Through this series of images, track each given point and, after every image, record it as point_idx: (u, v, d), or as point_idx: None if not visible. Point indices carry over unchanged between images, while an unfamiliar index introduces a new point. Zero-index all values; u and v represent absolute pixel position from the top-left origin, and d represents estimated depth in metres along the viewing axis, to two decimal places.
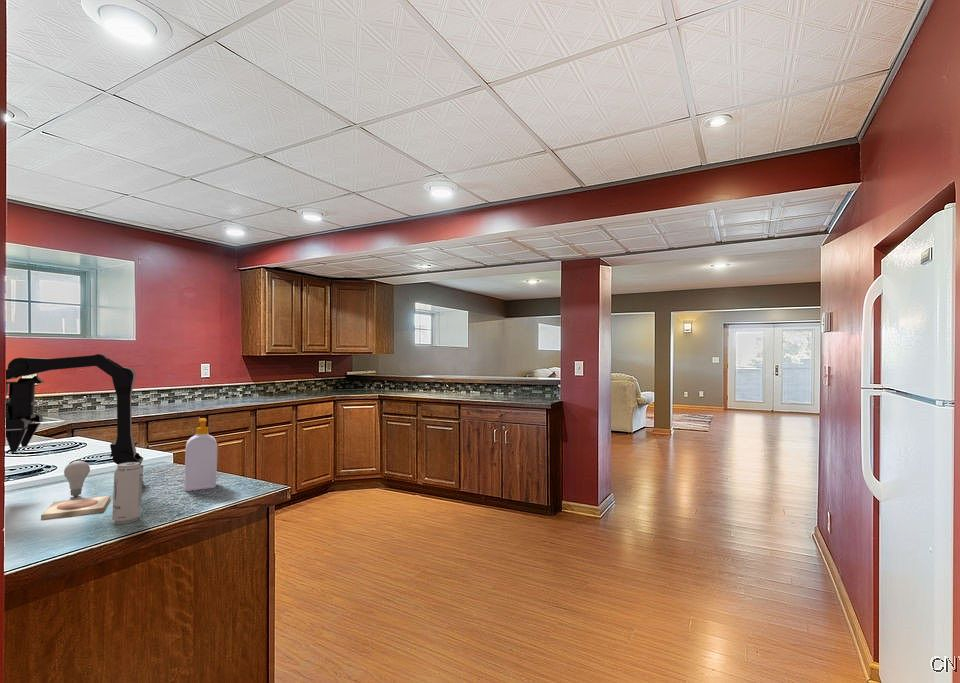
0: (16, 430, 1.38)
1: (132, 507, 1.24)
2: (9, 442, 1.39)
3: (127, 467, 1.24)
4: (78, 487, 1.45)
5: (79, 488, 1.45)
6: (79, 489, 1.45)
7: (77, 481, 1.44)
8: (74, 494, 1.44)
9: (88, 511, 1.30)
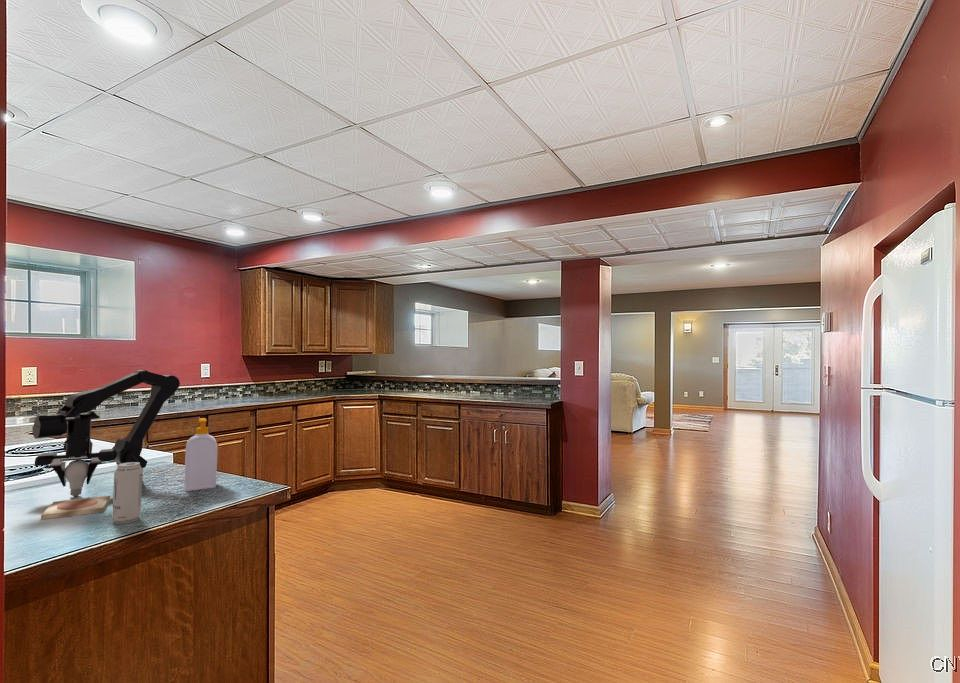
0: (50, 465, 1.42)
1: (132, 507, 1.24)
2: None
3: (127, 467, 1.24)
4: (78, 487, 1.45)
5: (79, 488, 1.45)
6: (79, 489, 1.45)
7: (77, 481, 1.44)
8: (74, 494, 1.44)
9: (88, 511, 1.30)
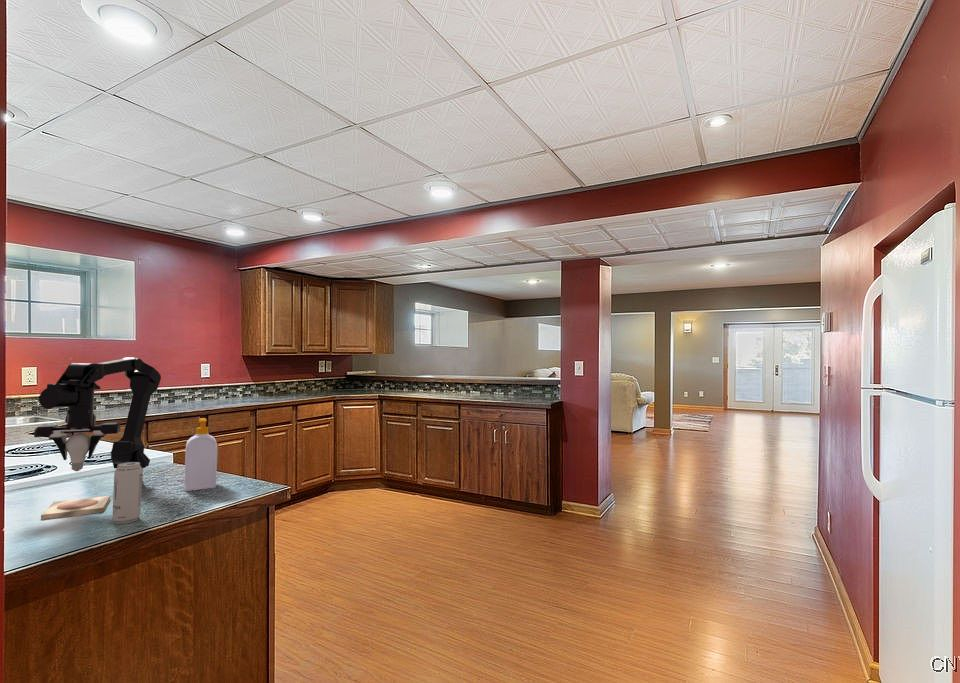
0: None
1: (132, 507, 1.24)
2: None
3: (127, 467, 1.24)
4: (79, 461, 1.37)
5: (80, 462, 1.37)
6: (80, 463, 1.38)
7: (78, 454, 1.37)
8: (75, 468, 1.37)
9: (88, 511, 1.30)
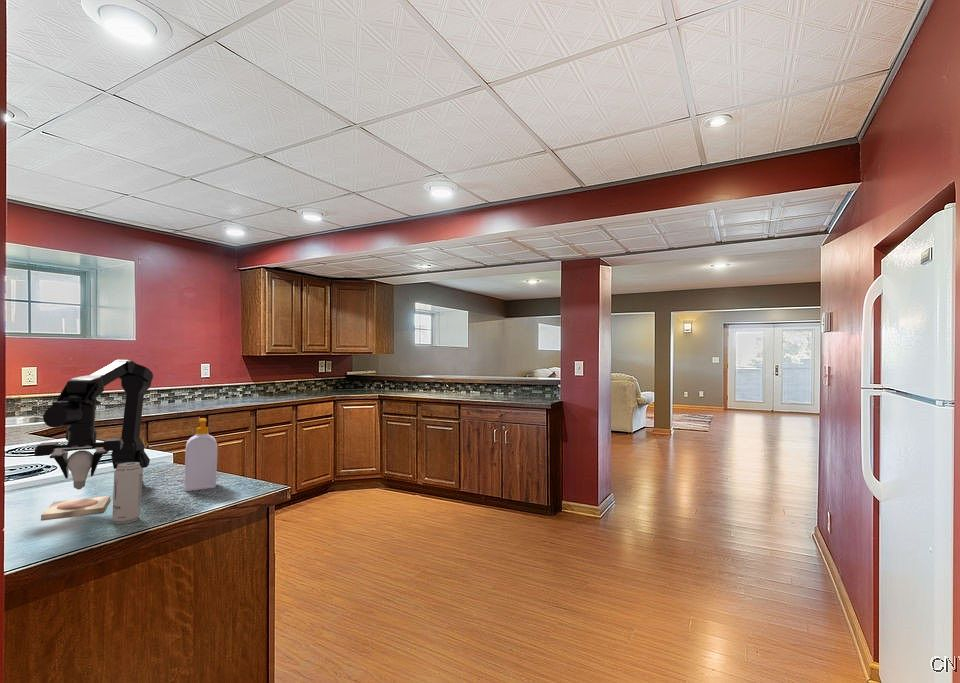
0: (51, 455, 1.30)
1: (132, 507, 1.24)
2: None
3: (127, 467, 1.24)
4: (82, 479, 1.34)
5: (83, 480, 1.34)
6: (83, 481, 1.34)
7: (81, 472, 1.33)
8: (77, 486, 1.33)
9: (88, 511, 1.30)
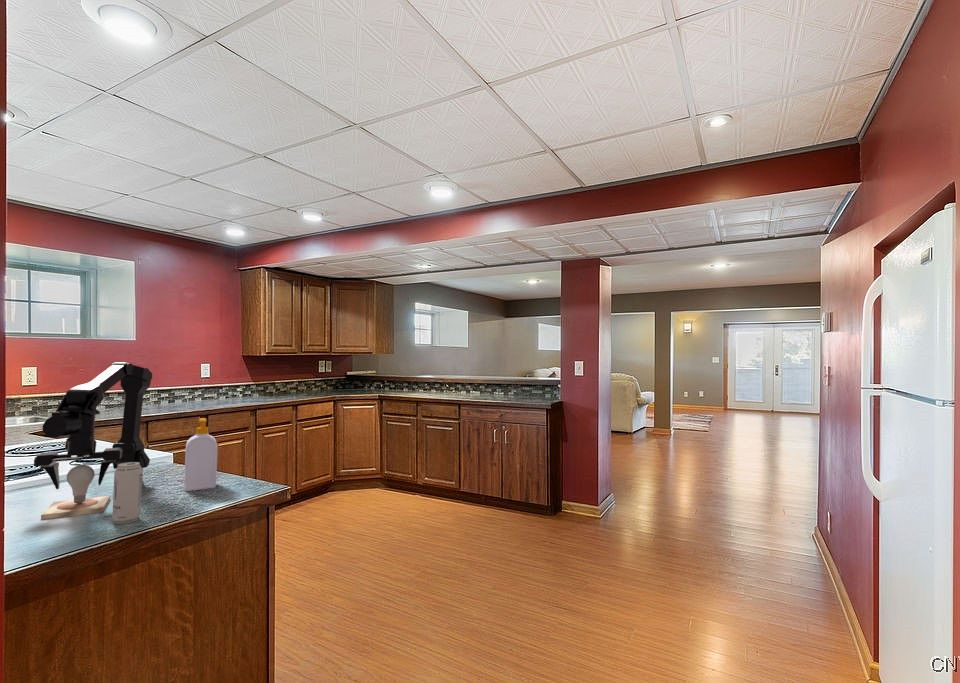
0: None
1: (132, 507, 1.24)
2: None
3: (127, 467, 1.24)
4: (82, 493, 1.34)
5: (83, 495, 1.34)
6: (83, 496, 1.34)
7: (81, 487, 1.33)
8: (78, 501, 1.33)
9: (88, 511, 1.30)
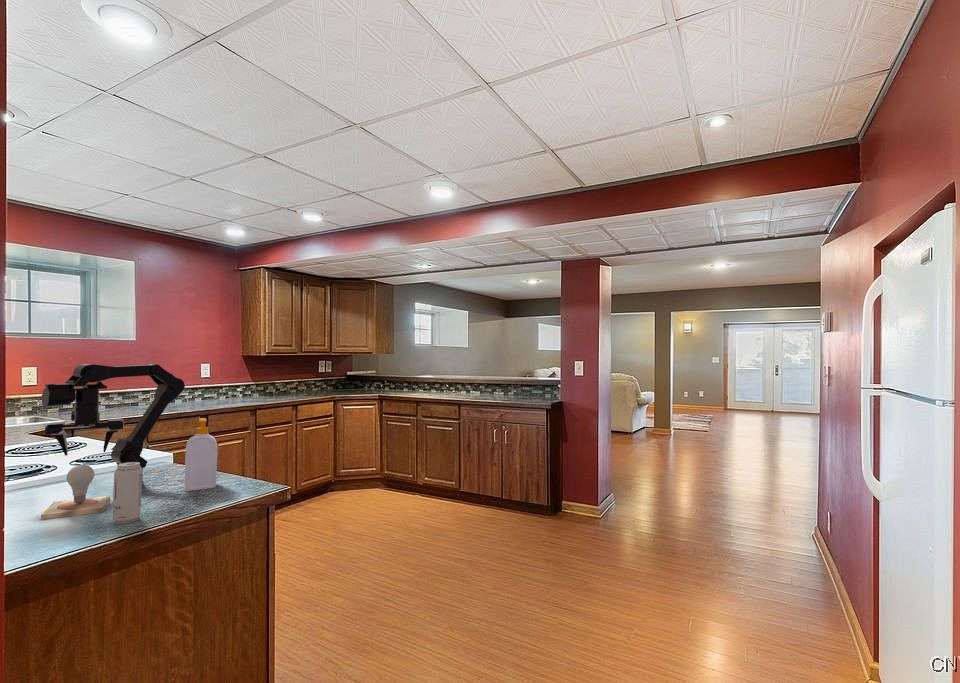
0: None
1: (132, 507, 1.24)
2: None
3: (127, 467, 1.24)
4: (82, 493, 1.34)
5: (83, 495, 1.34)
6: (83, 496, 1.34)
7: (81, 487, 1.33)
8: (78, 501, 1.33)
9: (88, 511, 1.30)
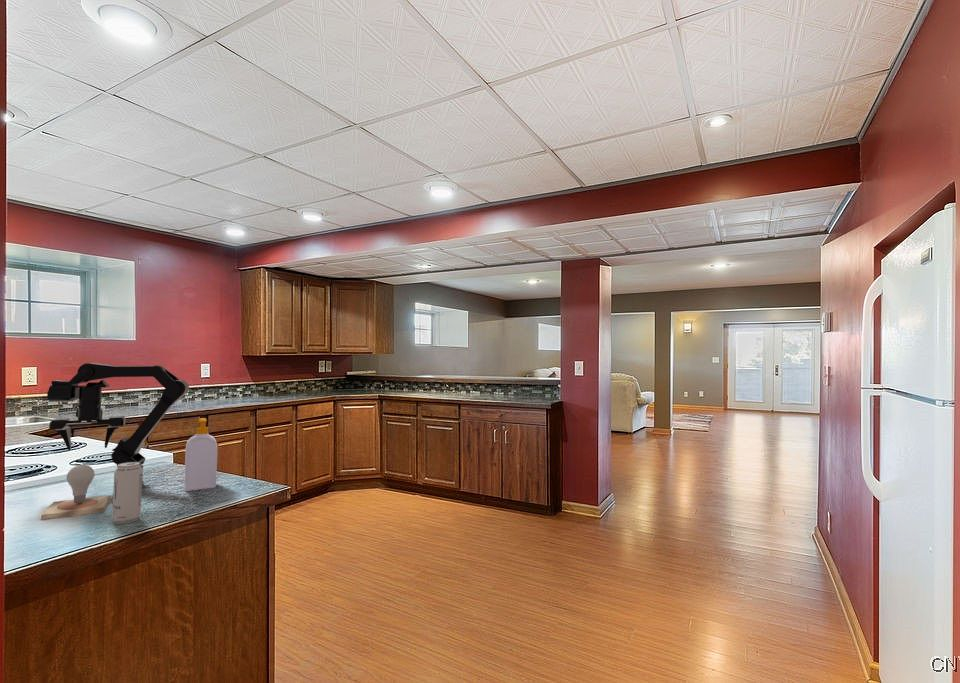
0: (55, 430, 1.49)
1: (132, 507, 1.24)
2: None
3: (127, 467, 1.24)
4: (82, 493, 1.34)
5: (83, 495, 1.34)
6: (83, 496, 1.34)
7: (81, 487, 1.33)
8: (78, 501, 1.33)
9: (88, 511, 1.30)
